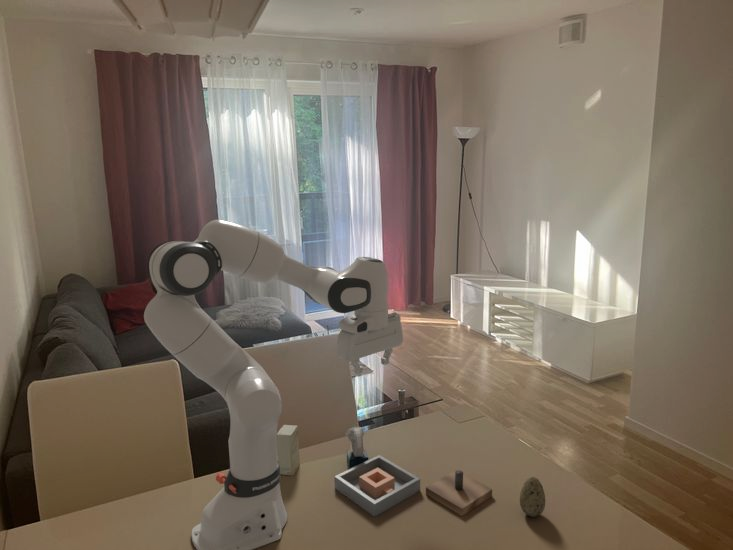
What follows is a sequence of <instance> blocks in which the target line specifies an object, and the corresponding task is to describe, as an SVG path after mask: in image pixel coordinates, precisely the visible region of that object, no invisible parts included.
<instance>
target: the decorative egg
mask: <svg viewBox="0 0 733 550" xmlns="http://www.w3.org/2000/svg"><path fill="white" fill-rule="evenodd" d="M543 487H544V486H543V485H542V483H541V481H540V480H539V479H538V478H537V477H536V476H530V477H529V478H527V480H525V482H524V483H523V485H522V488H521V491H520V494H519V506H520V508H521V510H522V512H523V513H524V514H526V516H529V517H532V518H536V517H538V516H541V515H542V513H543V512H544V511H545V507H546V495H545V491H544V488H543Z"/></svg>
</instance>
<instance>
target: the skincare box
mask: <svg viewBox="0 0 733 550" xmlns="http://www.w3.org/2000/svg"><path fill="white" fill-rule="evenodd" d="M298 429H299V426H298V425H296V424H295V425H293V424H292V425H291V424H283V425H282V426H281V427H280V429H279V430H278V431H277V434H276V439H277V459H278V462H279V465H280V475H284V476H285V475H286V476H294V474H295V473H296V471H297V470H298V468H299V466H300V464H301V463H300V462H301V461H300V445H299V430H298Z"/></svg>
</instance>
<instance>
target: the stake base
mask: <svg viewBox="0 0 733 550" xmlns="http://www.w3.org/2000/svg"><path fill="white" fill-rule="evenodd" d="M425 495H427V496H428V497H429V498H432V499H433V500H435V501H436V502H438V503H439V504H441V505H442V506H444V507H446V508H448V509H450V511H453V512H454V513H456V514H458V515H459V516H461V517H462V516H464V515H466V514H468V513H469V512H471V511H472V510H474V509H475V508H476V507H478V506H479V505H481V504H482V503H484V502H485V501H487V500H488V499H490V498H491V497H493V488H492V487H489V486H487V485H485V484H484V483H481V482H479V481H478V480H476V479H474V478H473V477H470V476H469V475H466V474H465V473H464V471H462V470H460V469H459V470H458V469H455V470H453V471H452V472H450V473H448V474H446V475H444V476H443V477H441V478H439V479H438V480H436V481H435V482H433V483H430V484H429V485H427V486H426V487H425Z"/></svg>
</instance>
